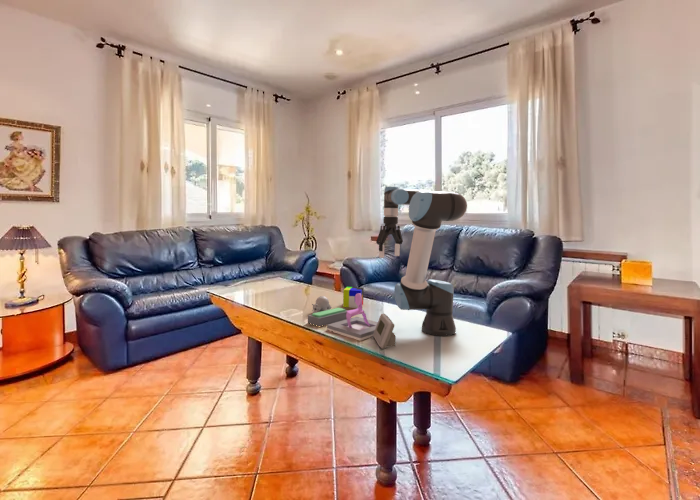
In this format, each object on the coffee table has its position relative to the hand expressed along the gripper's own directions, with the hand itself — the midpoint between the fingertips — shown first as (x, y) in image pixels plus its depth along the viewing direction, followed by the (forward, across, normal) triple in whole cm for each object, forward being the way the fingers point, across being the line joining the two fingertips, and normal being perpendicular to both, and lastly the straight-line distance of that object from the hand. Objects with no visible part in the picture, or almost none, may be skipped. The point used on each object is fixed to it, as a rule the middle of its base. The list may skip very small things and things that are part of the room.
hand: (389, 256), depth 197 cm
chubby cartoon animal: (+31, +25, -26) cm, 48 cm away
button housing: (+31, +33, -11) cm, 46 cm away
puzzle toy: (+31, 0, -25) cm, 40 cm away
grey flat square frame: (+31, +34, +9) cm, 47 cm away
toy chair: (+29, +34, +9) cm, 45 cm away
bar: (+29, +33, -11) cm, 45 cm away
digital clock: (+31, +39, +27) cm, 57 cm away
